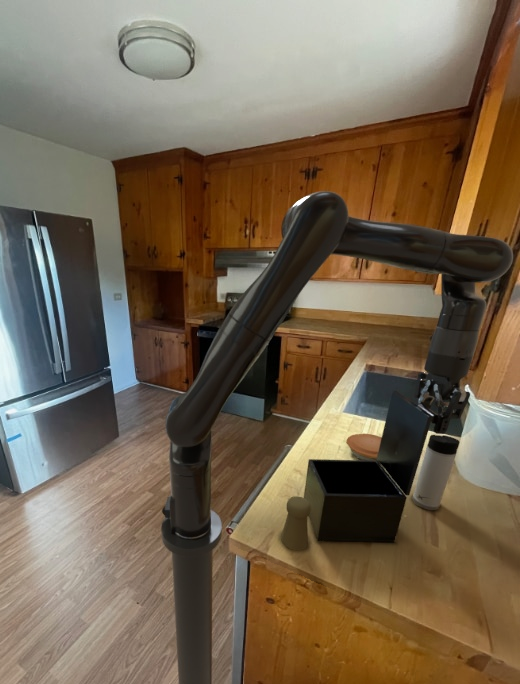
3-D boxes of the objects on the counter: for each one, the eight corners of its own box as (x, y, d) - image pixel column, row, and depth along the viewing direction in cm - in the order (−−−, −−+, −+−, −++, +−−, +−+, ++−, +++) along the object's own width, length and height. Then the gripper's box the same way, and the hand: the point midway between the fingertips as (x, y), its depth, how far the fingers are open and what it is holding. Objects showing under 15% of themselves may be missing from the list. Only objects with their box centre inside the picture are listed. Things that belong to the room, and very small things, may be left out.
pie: (394, 471, 102) (398, 457, 100) (342, 459, 108) (344, 446, 106) (394, 449, 115) (397, 436, 113) (347, 439, 121) (349, 427, 119)
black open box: (317, 541, 75) (324, 495, 70) (303, 499, 89) (308, 459, 84) (394, 543, 75) (407, 497, 70) (368, 501, 89) (377, 460, 84)
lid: (428, 416, 63) (457, 417, 63) (392, 390, 77) (416, 391, 77) (405, 495, 70) (431, 496, 70) (376, 458, 84) (398, 459, 84)
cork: (304, 530, 78) (309, 492, 74) (310, 550, 73) (316, 510, 69) (279, 529, 78) (283, 491, 74) (283, 550, 73) (287, 510, 69)
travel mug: (418, 510, 86) (438, 442, 78) (408, 494, 92) (426, 430, 84) (444, 512, 85) (466, 444, 77) (432, 496, 91) (452, 431, 83)
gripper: (413, 342, 73) (396, 412, 79) (455, 359, 59) (431, 441, 65) (447, 343, 72) (428, 413, 79) (497, 360, 59) (469, 442, 65)
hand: (429, 425), depth 72 cm, fingers closed on lid, 6 cm apart
